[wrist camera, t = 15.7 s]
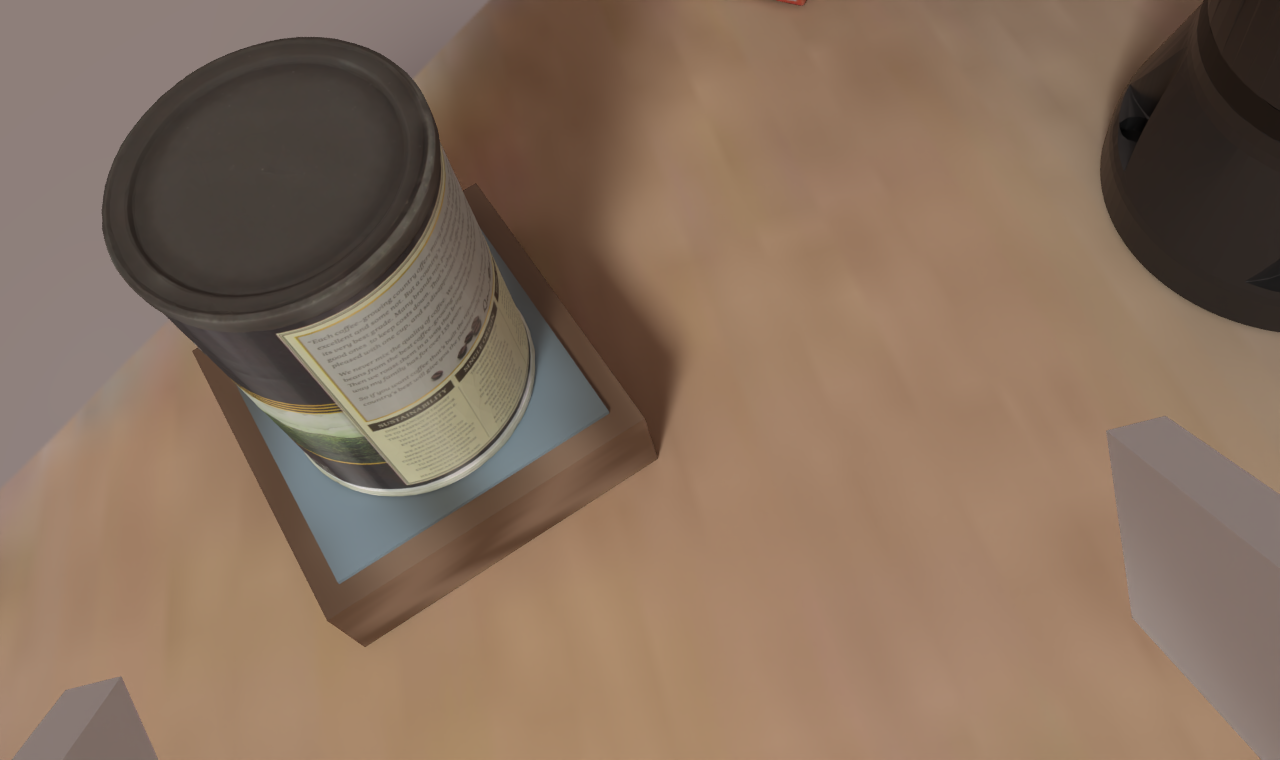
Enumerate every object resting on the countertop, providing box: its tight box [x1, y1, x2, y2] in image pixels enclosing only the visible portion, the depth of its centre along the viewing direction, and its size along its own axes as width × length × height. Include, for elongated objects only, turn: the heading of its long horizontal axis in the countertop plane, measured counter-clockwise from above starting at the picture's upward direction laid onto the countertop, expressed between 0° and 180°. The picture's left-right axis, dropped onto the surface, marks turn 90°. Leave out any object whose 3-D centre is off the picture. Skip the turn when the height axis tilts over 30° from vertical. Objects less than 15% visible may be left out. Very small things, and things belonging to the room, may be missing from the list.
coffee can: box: [102, 37, 535, 497], centre depth 41 cm, size 10×10×14 cm
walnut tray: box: [192, 183, 658, 647], centre depth 49 cm, size 14×14×4 cm
